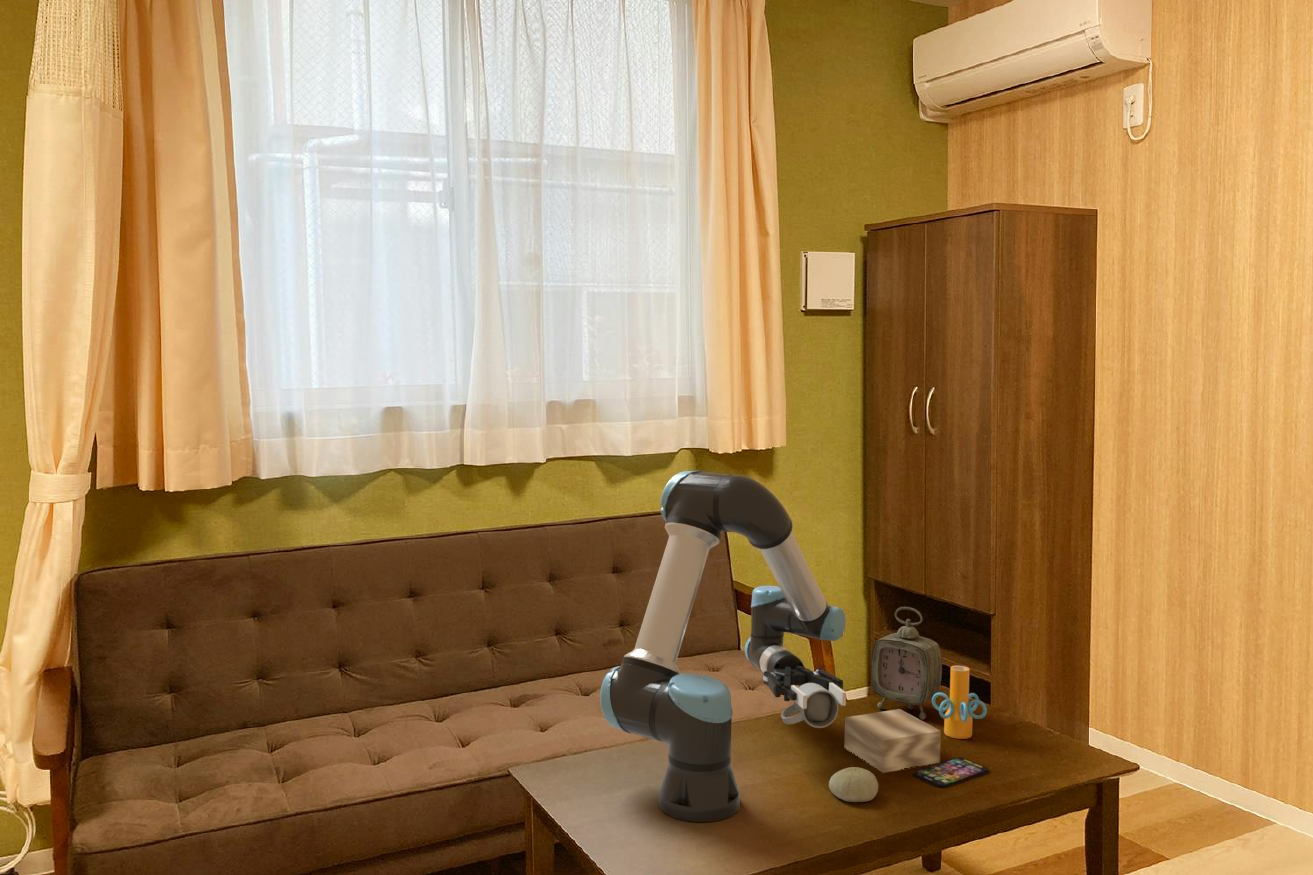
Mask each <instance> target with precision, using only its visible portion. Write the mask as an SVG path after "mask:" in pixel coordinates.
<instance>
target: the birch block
mask: <svg viewBox="0 0 1313 875" xmlns="http://www.w3.org/2000/svg"><path fill="white" fill-rule="evenodd" d="M941 735H942V731H941V730H940V729H938V728H936V727H934V726H933V725H931V724H929V723H927V722H926V721H924V720H922V719H920V718H917V717H916V716H914V715H912V714H910V713H908V712H906V711H904V710H902V709H900V708H897V709H896V708H895V709H890V710H885V711H884V710H883V711H879V712H878V711H877V712H871V713H870V712H869V713H865V714H859V715H852V716H845V717H844V748H843V749H845V748H846V749H845V750H847V751H848V752H850V753H851V752H852V753H851V754H853V753H854V754H855V755H854V754H853V755H854V756H856V757H857V756H858V758H859V759H861V760H862V759H863V760H862V761H864V760H865V761H866V762H865V761H864V762H865V763H867V764H868V763H869V764H868V765H870V766H871V767H873V766H874V767H873V768H875V769H876V768H877V769H876V770H877V771H879V772H881V773H883V774H886V773H890V772H895V771H902V770H905V769H904V768H908V769H911V768H910V767H913V766H919V767H923V765H924V766H928V765H929V764H930V765H936V764H939V763H941V742H942V741H941ZM930 765H929V766H930ZM913 768H914V767H913ZM901 769H902V770H901Z"/></svg>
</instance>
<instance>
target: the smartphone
mask: <svg viewBox="0 0 1313 875" xmlns="http://www.w3.org/2000/svg"><path fill="white" fill-rule="evenodd" d="M989 770H990V769H989V768H988V767H987V766H984V765H982V764H979V763H978V762H975V761H973V760H970V759H967V758H965V757H962V756H961V757H960V756H959V757H955V758H952V759H948V760H945V761H943V762H942V761H941V762H940V763H935V764H932V765H929V766H927V767H924V768H921V769H918V770H915V771H913V773H912V774H913V777H914V776H915V777H914V778H916V779H918V780H920V781H922V780H924V781H923V782H925V781H926V783H927V782H928V784H929V783H930V784H929V785H932V786H933V787H937V788H938V789H944V787H945V788H948V787H950V786H953V785H957V784H959V783H963V782H965V781H968V780H971V779H974V778H976V777H979V776H982V775H985V774H987V773H989Z"/></svg>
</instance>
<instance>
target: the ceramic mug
mask: <svg viewBox="0 0 1313 875" xmlns="http://www.w3.org/2000/svg"><path fill="white" fill-rule="evenodd" d="M797 688H798V689H800V690H801V691H802V692H803V693H805V694H806V695H807V709H803V708H801V707H800V706H799V705H798V704H797V703H795V702H794V701H793V704H792V705H790V706H789V707H787V708H785V709H783V711H782V712H781V715H780V717H781V719H782V721H783V723H784V724H785V725H795V724H797V723H799V722H802V721H804V722H805V723H806V724H807V725H809V726H810V727H813V728H815V729H822V728H827V727H828V726H831V724H833V723H834V721H835V720H836V719H837V716H838V713H839V703H838V701H837V699H836V697H835V696H834V695H833V694H832V693H831V692H829V691H828V690H826V689H825V688H823V687H822V686H820V685H818V684H815V683H806V684H803V685H801V686H798V687H797ZM795 712H797V714H795V715H792V714H794V713H795ZM791 715H792V716H791Z"/></svg>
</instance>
